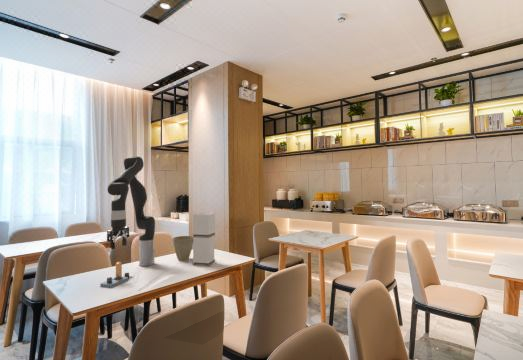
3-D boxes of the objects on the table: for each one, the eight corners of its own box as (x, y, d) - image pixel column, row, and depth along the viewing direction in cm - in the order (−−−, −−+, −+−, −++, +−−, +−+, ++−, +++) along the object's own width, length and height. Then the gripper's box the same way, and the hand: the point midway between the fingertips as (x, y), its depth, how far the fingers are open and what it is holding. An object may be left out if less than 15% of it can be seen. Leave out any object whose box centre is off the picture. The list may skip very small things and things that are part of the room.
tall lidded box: (214, 262, 205) (214, 212, 205) (208, 266, 194) (208, 214, 195) (200, 261, 208) (200, 212, 208) (193, 265, 197) (193, 214, 197)
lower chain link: (124, 278, 171) (124, 271, 171) (134, 279, 169) (134, 272, 169) (108, 285, 159) (108, 278, 159) (118, 286, 157) (118, 279, 157)
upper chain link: (111, 290, 152) (111, 280, 152) (100, 289, 154) (100, 278, 154) (128, 282, 164) (128, 272, 164) (117, 281, 166) (118, 271, 166)
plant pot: (168, 261, 207) (168, 239, 207) (180, 256, 221) (180, 235, 222) (186, 263, 203) (186, 240, 203) (197, 257, 217) (197, 236, 217)
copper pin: (118, 282, 163) (118, 261, 163) (122, 283, 163) (122, 261, 163) (114, 284, 161) (114, 263, 161) (118, 285, 160) (118, 263, 160)
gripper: (122, 216, 169) (122, 244, 169) (102, 219, 156) (103, 249, 156) (133, 216, 167) (133, 244, 167) (114, 220, 154) (114, 250, 154)
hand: (118, 247), depth 162 cm, fingers open, 8 cm apart
